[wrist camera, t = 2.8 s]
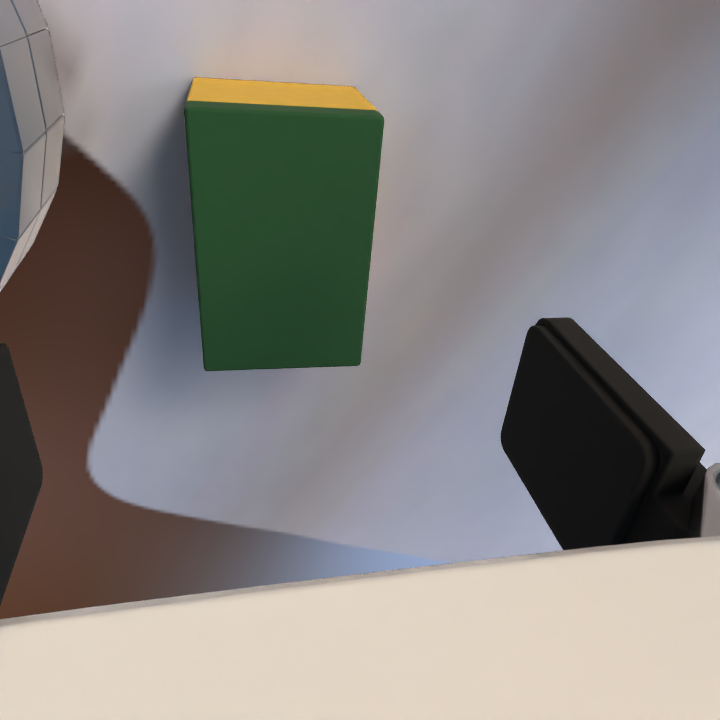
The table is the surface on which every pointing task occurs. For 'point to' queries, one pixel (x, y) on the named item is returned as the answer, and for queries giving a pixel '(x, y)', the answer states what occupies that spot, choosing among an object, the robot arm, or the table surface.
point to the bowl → (26, 129)
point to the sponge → (281, 220)
